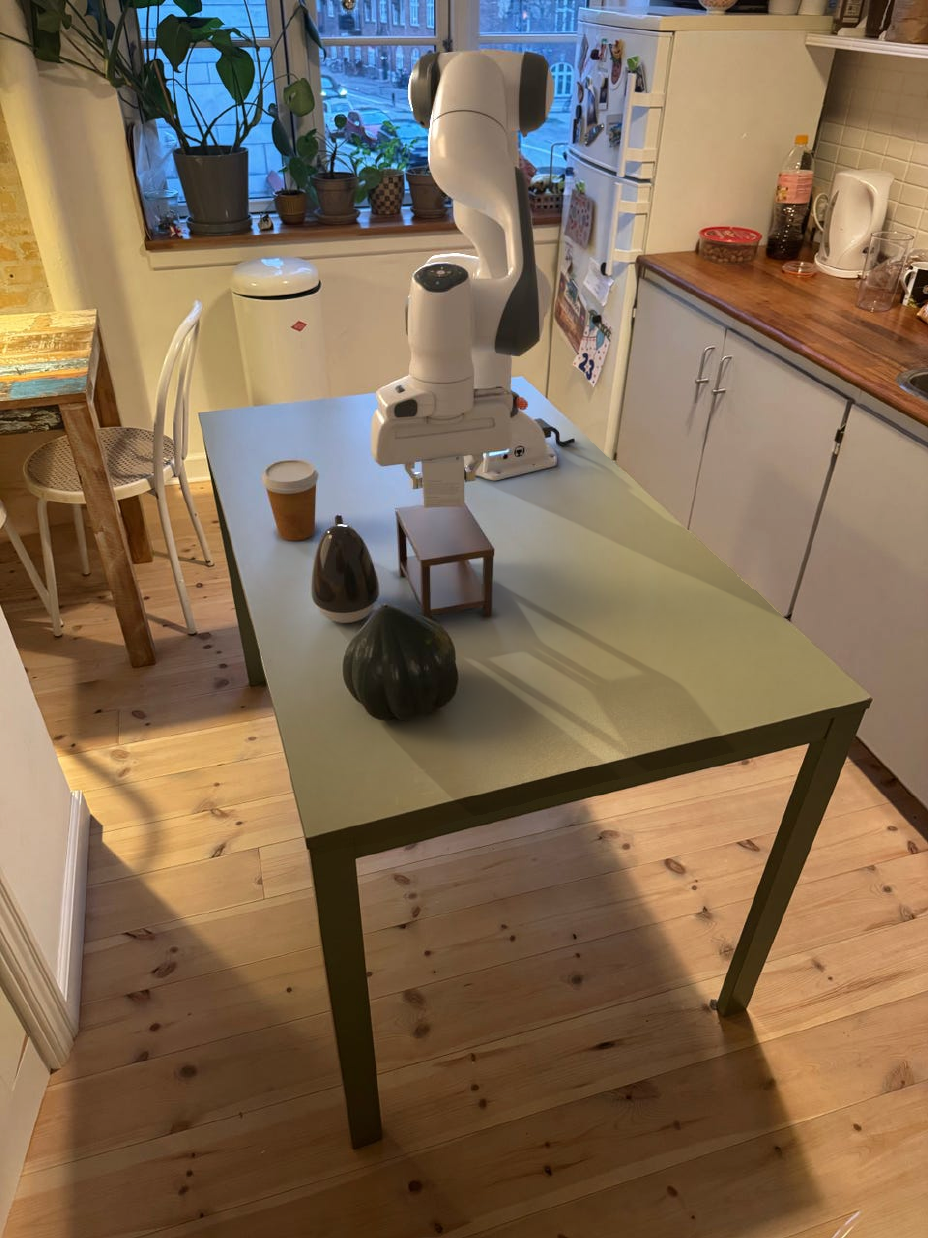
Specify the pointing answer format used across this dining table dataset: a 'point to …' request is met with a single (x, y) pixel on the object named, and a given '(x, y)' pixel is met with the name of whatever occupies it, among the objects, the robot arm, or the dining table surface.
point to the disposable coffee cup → (292, 497)
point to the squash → (400, 664)
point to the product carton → (443, 482)
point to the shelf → (444, 558)
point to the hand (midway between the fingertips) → (442, 483)
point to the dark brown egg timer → (344, 575)
